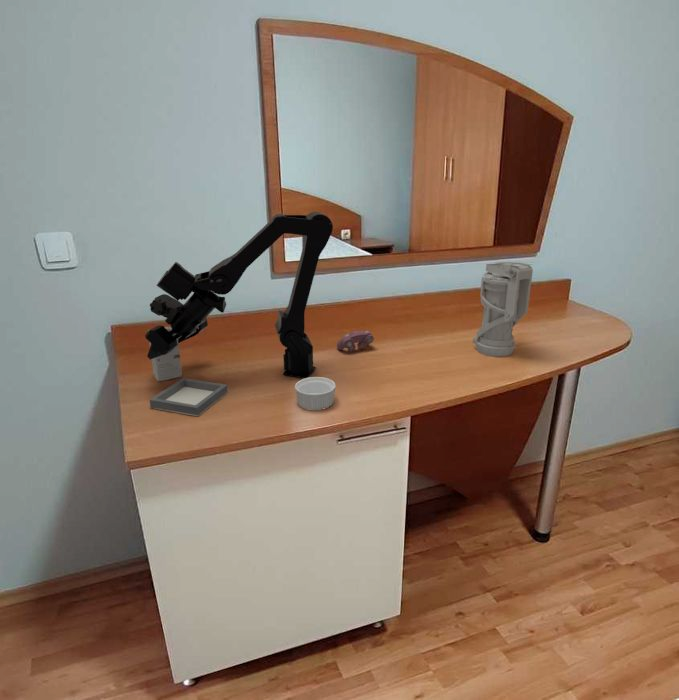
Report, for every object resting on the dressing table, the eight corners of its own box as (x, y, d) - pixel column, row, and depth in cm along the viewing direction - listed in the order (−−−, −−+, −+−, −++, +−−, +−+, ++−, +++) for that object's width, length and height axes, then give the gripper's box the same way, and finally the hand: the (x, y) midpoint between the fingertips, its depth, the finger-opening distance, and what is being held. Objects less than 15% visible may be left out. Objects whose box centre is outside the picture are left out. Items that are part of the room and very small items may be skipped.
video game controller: (340, 358, 141) (345, 340, 136) (334, 346, 144) (338, 328, 139) (372, 352, 145) (378, 335, 140) (365, 341, 148) (371, 323, 143)
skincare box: (158, 382, 124) (151, 335, 119) (153, 376, 127) (146, 329, 123) (183, 376, 127) (177, 330, 123) (178, 370, 130) (172, 325, 126)
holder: (227, 392, 118) (227, 384, 117) (197, 416, 108) (196, 408, 107) (183, 385, 122) (182, 377, 121) (150, 408, 111) (149, 399, 111)
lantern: (467, 347, 144) (475, 258, 135) (496, 341, 148) (505, 255, 139) (499, 363, 133) (510, 267, 124) (529, 356, 137) (542, 263, 128)
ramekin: (339, 409, 110) (339, 391, 109) (298, 414, 108) (297, 395, 107) (331, 392, 118) (331, 375, 117) (293, 396, 117) (292, 378, 115)
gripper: (191, 275, 126) (157, 315, 133) (146, 295, 109) (110, 339, 116) (223, 308, 127) (188, 346, 134) (184, 333, 110) (146, 375, 117)
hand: (159, 350), depth 125 cm, fingers open, 9 cm apart
